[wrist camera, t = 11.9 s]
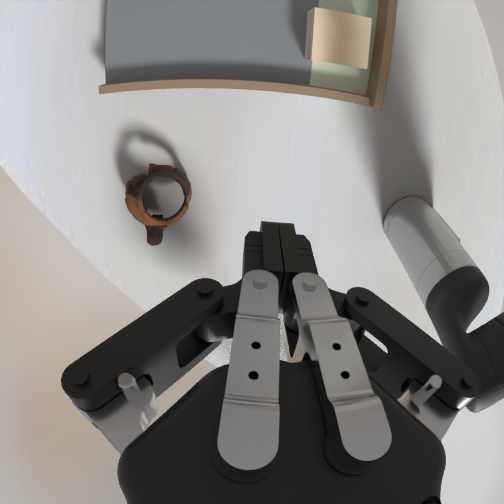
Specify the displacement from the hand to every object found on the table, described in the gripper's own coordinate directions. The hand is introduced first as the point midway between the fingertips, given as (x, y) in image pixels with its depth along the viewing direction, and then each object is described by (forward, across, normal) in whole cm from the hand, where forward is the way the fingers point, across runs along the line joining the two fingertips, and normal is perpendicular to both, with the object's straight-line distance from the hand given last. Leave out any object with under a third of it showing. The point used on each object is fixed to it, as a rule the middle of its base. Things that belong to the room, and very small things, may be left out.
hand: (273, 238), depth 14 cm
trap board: (+28, +3, -14) cm, 31 cm away
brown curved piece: (+28, +14, +12) cm, 34 cm away
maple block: (+24, -7, -12) cm, 27 cm away
